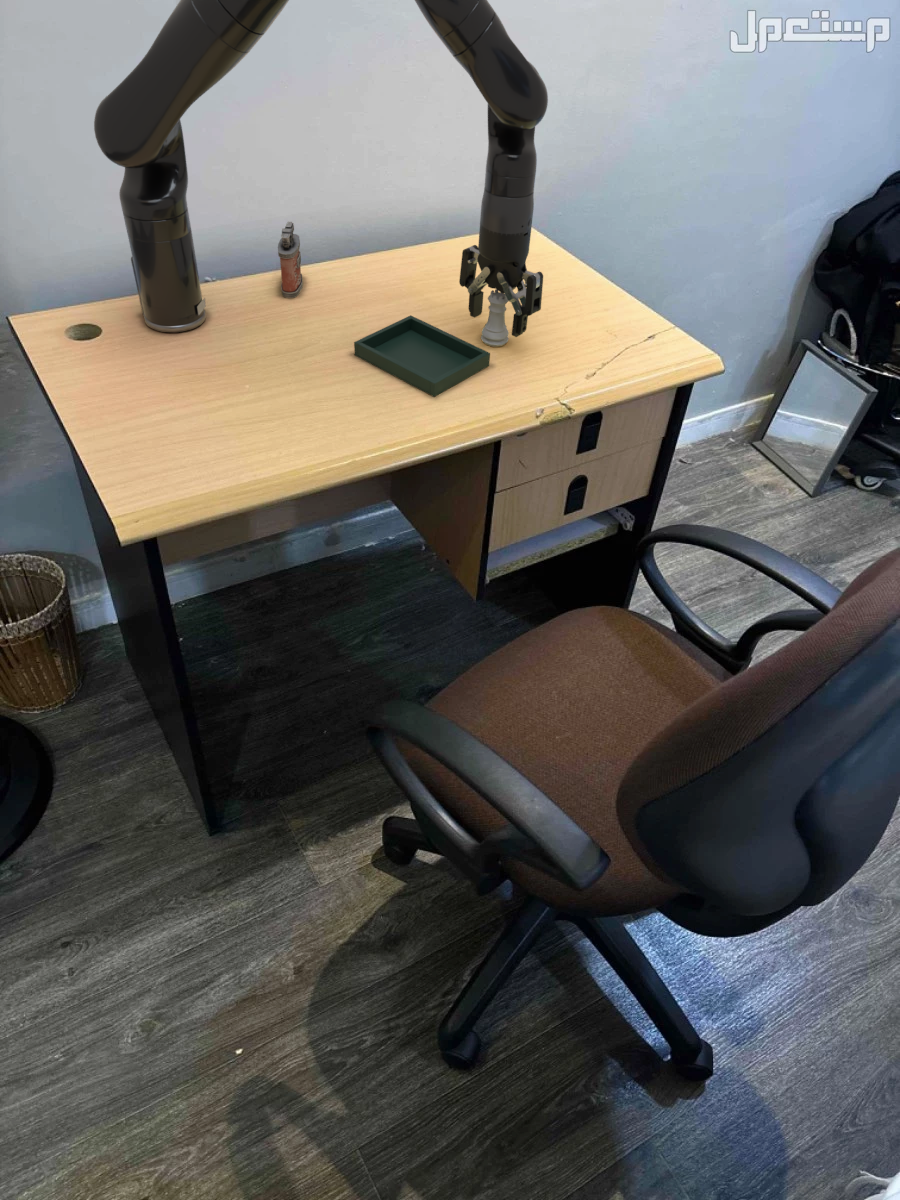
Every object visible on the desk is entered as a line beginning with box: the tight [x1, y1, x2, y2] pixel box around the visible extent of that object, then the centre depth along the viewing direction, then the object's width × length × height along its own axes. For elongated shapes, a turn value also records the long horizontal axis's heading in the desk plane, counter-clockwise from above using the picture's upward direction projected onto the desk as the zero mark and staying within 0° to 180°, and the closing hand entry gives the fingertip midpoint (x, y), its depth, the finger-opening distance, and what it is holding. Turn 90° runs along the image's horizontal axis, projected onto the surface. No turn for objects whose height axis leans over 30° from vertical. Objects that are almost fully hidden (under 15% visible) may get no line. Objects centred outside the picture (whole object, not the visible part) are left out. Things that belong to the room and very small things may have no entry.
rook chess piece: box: [480, 289, 510, 348], centre depth 137 cm, size 4×4×8 cm
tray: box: [353, 315, 491, 398], centre depth 134 cm, size 17×13×2 cm
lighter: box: [277, 221, 304, 299], centre depth 146 cm, size 8×3×10 cm, turn 179°
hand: (496, 325), depth 138 cm, fingers open, 8 cm apart
